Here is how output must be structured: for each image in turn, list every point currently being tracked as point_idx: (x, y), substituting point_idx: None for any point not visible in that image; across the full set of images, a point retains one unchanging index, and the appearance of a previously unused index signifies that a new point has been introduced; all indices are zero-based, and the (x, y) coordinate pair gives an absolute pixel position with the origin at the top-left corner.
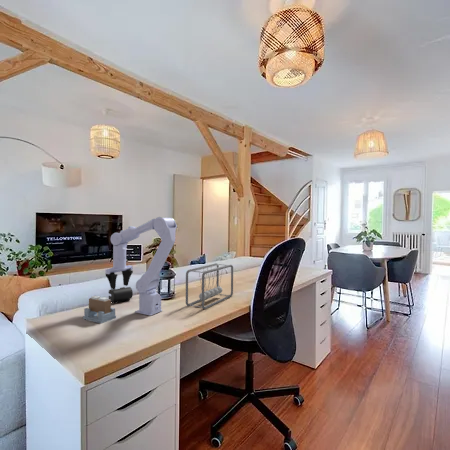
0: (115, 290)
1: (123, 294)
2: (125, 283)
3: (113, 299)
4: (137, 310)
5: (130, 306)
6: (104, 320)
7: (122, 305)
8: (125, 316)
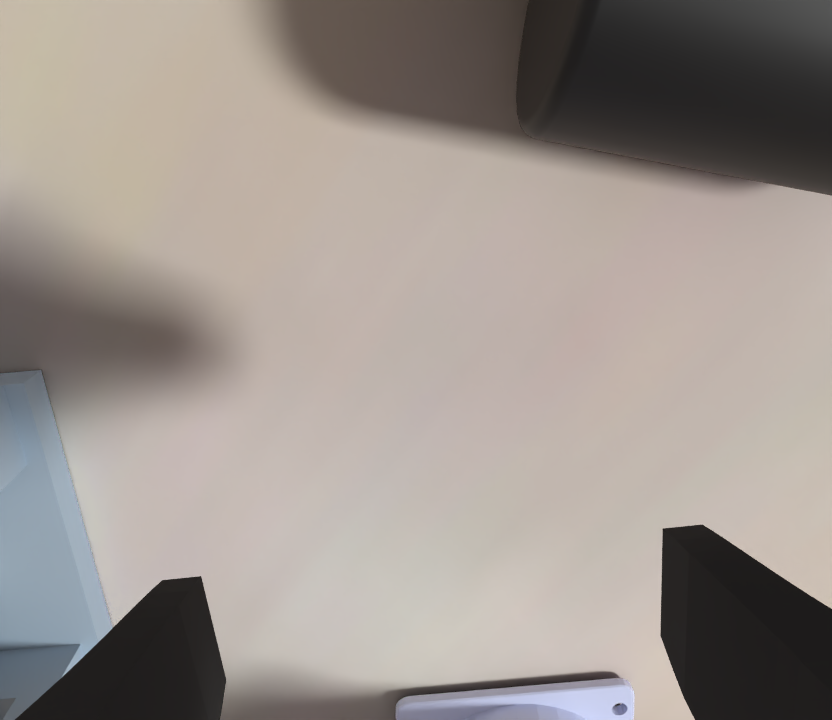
0: (665, 43)
1: (752, 178)
2: (684, 639)
3: (520, 94)
4: (441, 709)
5: (569, 443)
6: None
7: (543, 295)
8: (236, 712)
